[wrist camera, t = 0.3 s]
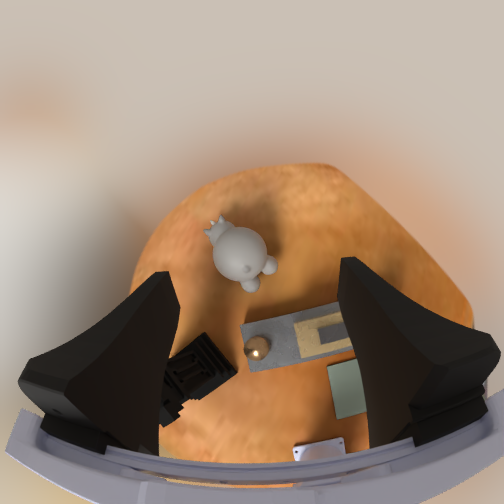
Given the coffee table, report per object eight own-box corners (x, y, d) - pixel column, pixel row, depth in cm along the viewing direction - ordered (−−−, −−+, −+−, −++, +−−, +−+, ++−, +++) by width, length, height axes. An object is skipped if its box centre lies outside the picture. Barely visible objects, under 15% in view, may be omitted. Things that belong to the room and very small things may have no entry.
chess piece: (205, 332, 41) (127, 348, 22) (237, 372, 39) (180, 422, 19) (170, 360, 41) (85, 386, 22) (200, 398, 39) (130, 451, 20)
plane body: (387, 286, 37) (400, 283, 31) (397, 331, 35) (411, 335, 29) (243, 323, 40) (233, 326, 34) (254, 368, 38) (245, 378, 33)
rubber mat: (404, 397, 33) (404, 398, 32) (336, 418, 34) (336, 419, 34) (396, 345, 35) (397, 345, 34) (326, 366, 36) (326, 366, 36)
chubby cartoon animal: (244, 222, 46) (219, 191, 39) (288, 268, 38) (265, 238, 32) (212, 251, 46) (182, 224, 39) (249, 302, 38) (218, 279, 32)
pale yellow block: (344, 309, 35) (349, 309, 31) (351, 340, 34) (357, 345, 30) (294, 322, 36) (293, 324, 32) (301, 353, 35) (301, 360, 31)
